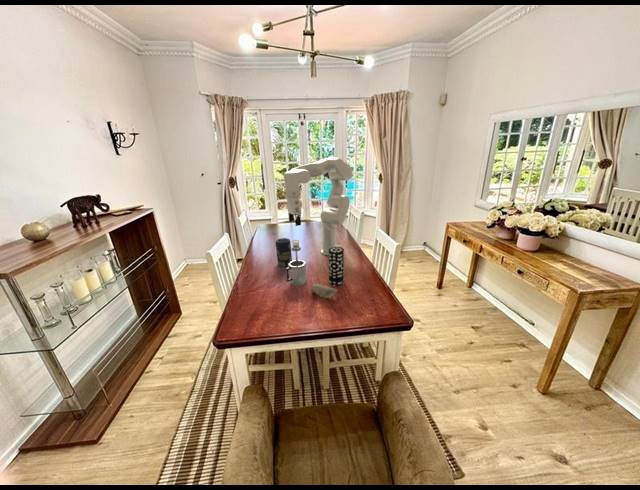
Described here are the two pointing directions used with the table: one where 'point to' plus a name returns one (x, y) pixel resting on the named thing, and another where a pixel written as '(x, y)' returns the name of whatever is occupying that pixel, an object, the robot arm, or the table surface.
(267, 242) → the table surface
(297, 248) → the plunger
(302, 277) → the press carafe
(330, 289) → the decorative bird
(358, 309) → the table surface
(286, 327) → the table surface
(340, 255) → the spotted tube
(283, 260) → the canister
